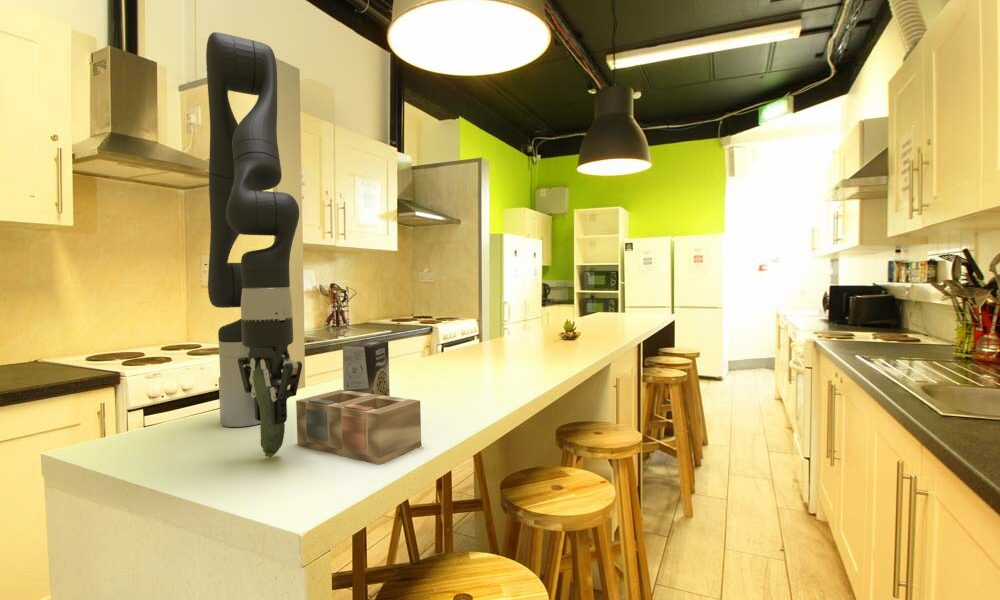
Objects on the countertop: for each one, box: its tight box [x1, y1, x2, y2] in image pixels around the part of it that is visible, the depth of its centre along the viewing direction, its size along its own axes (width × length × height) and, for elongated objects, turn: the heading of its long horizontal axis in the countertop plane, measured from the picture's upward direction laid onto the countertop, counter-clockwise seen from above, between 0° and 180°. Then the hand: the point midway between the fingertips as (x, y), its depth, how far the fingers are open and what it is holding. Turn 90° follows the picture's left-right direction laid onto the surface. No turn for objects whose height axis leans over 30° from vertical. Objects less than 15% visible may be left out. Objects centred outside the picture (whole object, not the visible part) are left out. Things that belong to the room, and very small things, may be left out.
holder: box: [295, 389, 422, 465], centre depth 88 cm, size 20×10×8 cm, turn 59°
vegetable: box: [253, 362, 286, 459], centre depth 82 cm, size 4×4×20 cm
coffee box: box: [342, 340, 391, 396], centre depth 105 cm, size 9×6×16 cm
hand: (271, 420), depth 82 cm, fingers closed on vegetable, 3 cm apart
